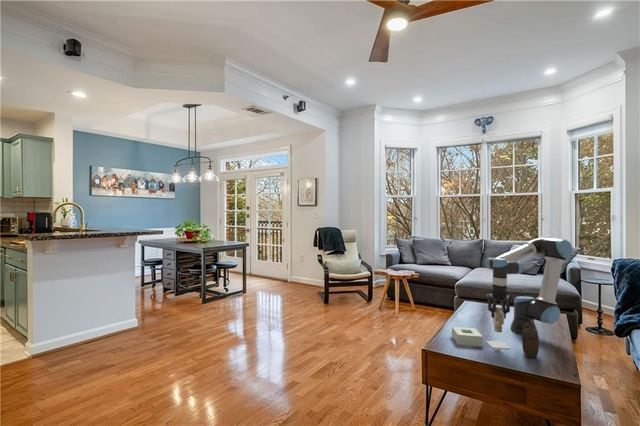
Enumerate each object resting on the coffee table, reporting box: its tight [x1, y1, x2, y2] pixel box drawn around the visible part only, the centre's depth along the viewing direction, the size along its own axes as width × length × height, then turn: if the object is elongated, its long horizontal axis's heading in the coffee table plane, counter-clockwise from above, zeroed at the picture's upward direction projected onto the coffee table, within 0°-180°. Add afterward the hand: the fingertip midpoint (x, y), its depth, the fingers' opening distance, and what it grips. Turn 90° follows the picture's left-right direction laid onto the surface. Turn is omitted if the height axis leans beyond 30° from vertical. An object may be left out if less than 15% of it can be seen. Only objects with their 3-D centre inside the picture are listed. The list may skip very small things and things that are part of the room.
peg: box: [493, 306, 503, 333], centre depth 200 cm, size 4×4×14 cm
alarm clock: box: [521, 320, 540, 360], centre depth 186 cm, size 15×7×20 cm, turn 153°
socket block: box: [451, 326, 484, 347], centre depth 206 cm, size 14×14×6 cm
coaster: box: [485, 340, 511, 350], centre depth 200 cm, size 10×10×1 cm
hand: (498, 323), depth 200 cm, fingers closed on peg, 4 cm apart
